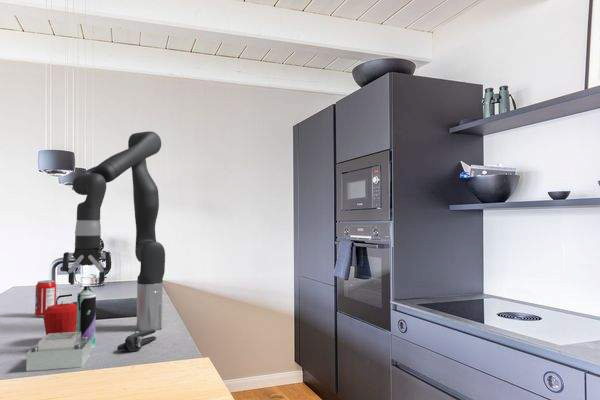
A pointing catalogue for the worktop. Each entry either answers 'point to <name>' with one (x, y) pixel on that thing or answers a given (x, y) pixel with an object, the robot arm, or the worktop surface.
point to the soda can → (44, 296)
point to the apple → (60, 318)
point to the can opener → (136, 340)
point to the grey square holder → (59, 352)
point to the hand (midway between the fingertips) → (86, 284)
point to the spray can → (86, 314)
